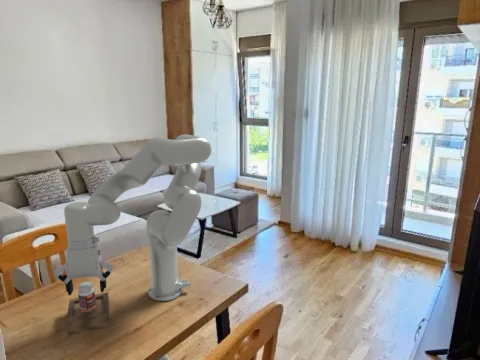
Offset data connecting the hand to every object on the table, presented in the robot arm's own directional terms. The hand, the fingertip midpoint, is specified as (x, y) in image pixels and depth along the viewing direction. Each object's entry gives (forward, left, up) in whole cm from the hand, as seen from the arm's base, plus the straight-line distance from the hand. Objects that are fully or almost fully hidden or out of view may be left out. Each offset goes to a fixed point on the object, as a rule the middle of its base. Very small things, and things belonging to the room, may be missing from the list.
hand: (87, 291), depth 111 cm
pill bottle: (0, 0, -6) cm, 6 cm away
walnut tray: (0, 0, -10) cm, 10 cm away
